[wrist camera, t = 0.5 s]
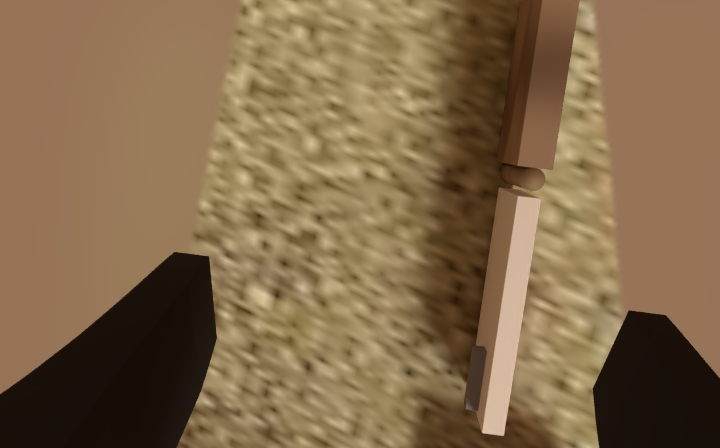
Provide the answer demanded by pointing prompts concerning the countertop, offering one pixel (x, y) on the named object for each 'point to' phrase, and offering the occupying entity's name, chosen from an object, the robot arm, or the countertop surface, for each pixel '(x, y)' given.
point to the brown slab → (536, 90)
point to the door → (502, 309)
